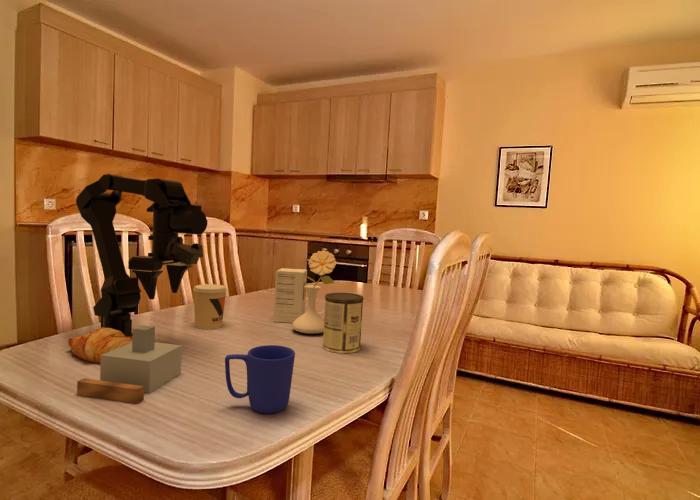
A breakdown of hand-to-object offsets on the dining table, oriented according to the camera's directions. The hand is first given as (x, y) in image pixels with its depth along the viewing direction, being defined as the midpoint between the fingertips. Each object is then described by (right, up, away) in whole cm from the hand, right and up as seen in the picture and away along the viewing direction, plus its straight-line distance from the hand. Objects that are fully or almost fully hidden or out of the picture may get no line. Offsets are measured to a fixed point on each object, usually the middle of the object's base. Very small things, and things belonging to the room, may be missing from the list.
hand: (163, 295), depth 99 cm
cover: (+4, -15, -19) cm, 24 cm away
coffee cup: (+3, -12, +24) cm, 27 cm away
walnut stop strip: (+3, -15, -27) cm, 31 cm away
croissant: (-10, -13, -8) cm, 18 cm away
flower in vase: (+34, -14, +24) cm, 44 cm away
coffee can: (+43, -15, +10) cm, 47 cm away
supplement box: (+25, -12, +37) cm, 47 cm away
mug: (+29, -17, -27) cm, 43 cm away
